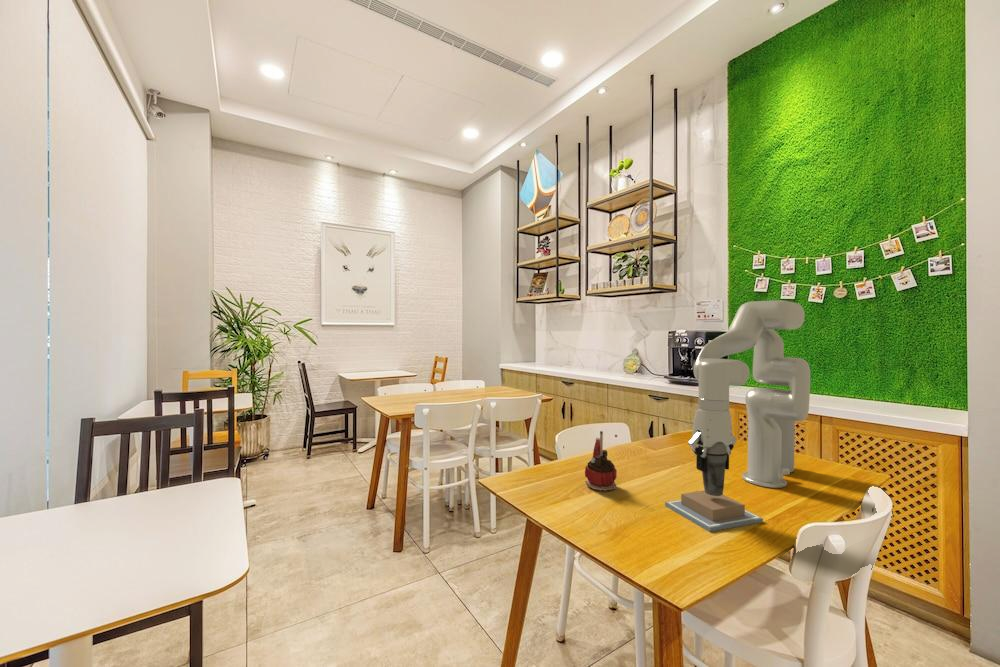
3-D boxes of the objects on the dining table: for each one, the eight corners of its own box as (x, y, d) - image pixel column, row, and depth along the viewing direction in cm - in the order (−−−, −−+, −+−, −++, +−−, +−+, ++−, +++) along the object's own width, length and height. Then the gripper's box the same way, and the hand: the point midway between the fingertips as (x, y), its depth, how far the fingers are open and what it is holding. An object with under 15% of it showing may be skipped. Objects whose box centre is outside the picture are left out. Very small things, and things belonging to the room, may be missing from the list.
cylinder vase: (756, 470, 147) (757, 402, 147) (751, 461, 159) (752, 397, 158) (797, 476, 142) (798, 405, 142) (789, 465, 153) (790, 400, 153)
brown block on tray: (713, 498, 122) (713, 485, 122) (762, 522, 107) (763, 507, 107) (665, 505, 117) (665, 491, 117) (709, 531, 101) (709, 516, 101)
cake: (611, 495, 124) (611, 436, 124) (581, 489, 128) (582, 432, 128) (619, 484, 133) (619, 429, 133) (591, 478, 138) (592, 426, 137)
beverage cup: (734, 497, 108) (732, 424, 108) (706, 498, 108) (705, 424, 108) (720, 486, 116) (718, 417, 115) (694, 487, 116) (692, 418, 115)
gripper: (726, 401, 118) (725, 462, 118) (678, 404, 113) (677, 468, 113) (749, 406, 111) (748, 470, 111) (699, 409, 105) (698, 477, 106)
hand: (712, 468), depth 112 cm, fingers closed on beverage cup, 6 cm apart
